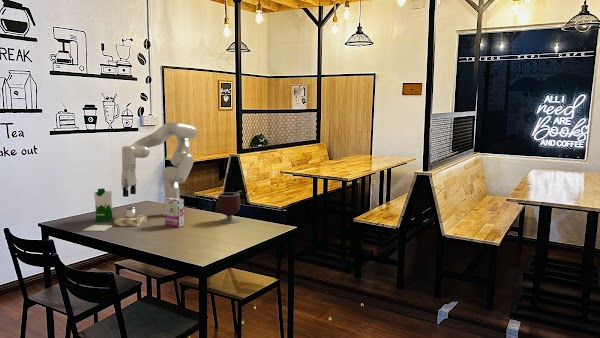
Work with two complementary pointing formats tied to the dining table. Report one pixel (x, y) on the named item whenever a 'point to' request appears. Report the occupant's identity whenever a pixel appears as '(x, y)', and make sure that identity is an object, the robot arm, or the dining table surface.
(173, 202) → the candy bar box
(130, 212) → the silver metal can
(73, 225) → the dining table surface
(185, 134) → the robot arm
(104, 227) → the rubber mat
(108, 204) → the milk carton
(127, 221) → the housing block
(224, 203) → the mate gourd
